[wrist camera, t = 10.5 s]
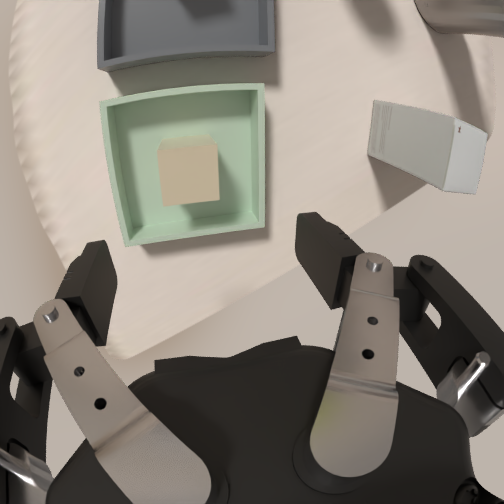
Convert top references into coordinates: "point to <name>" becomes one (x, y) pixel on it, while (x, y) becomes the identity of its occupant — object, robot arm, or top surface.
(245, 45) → the dark grey bin
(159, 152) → the sandstone block
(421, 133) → the supplement box
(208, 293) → the top surface
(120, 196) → the pale green bin
